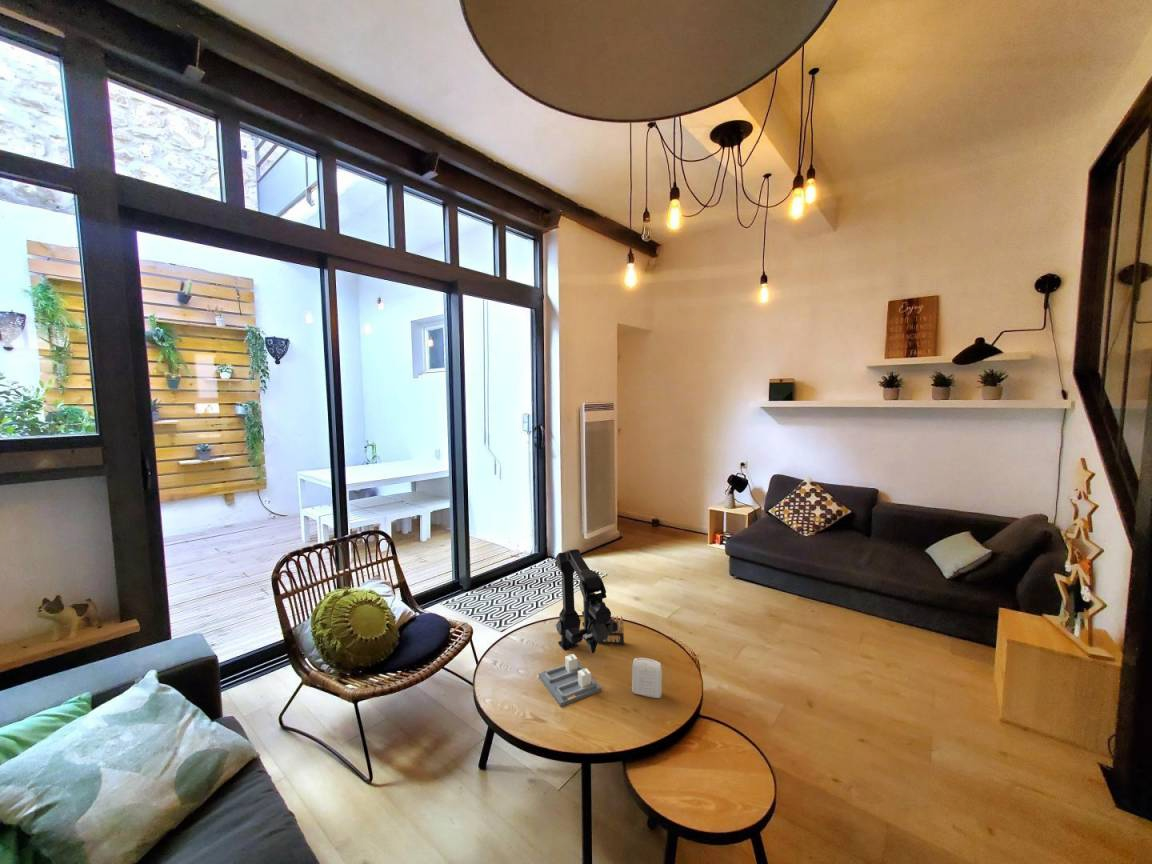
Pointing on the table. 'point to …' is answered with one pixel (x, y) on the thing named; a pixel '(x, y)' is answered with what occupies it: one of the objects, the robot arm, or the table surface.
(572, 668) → the white rectangular block
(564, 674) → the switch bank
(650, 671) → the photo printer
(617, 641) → the ammunition clip
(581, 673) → the white block
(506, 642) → the table surface
